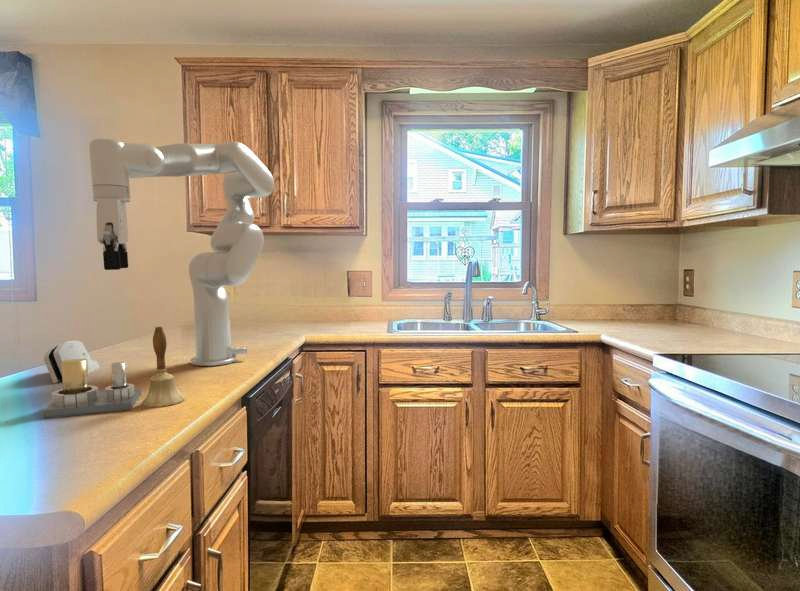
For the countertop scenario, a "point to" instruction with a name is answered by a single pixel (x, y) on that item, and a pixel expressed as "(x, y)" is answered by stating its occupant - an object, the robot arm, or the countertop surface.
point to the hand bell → (161, 377)
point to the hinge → (66, 358)
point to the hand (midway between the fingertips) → (116, 268)
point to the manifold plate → (96, 397)
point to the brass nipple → (75, 376)
